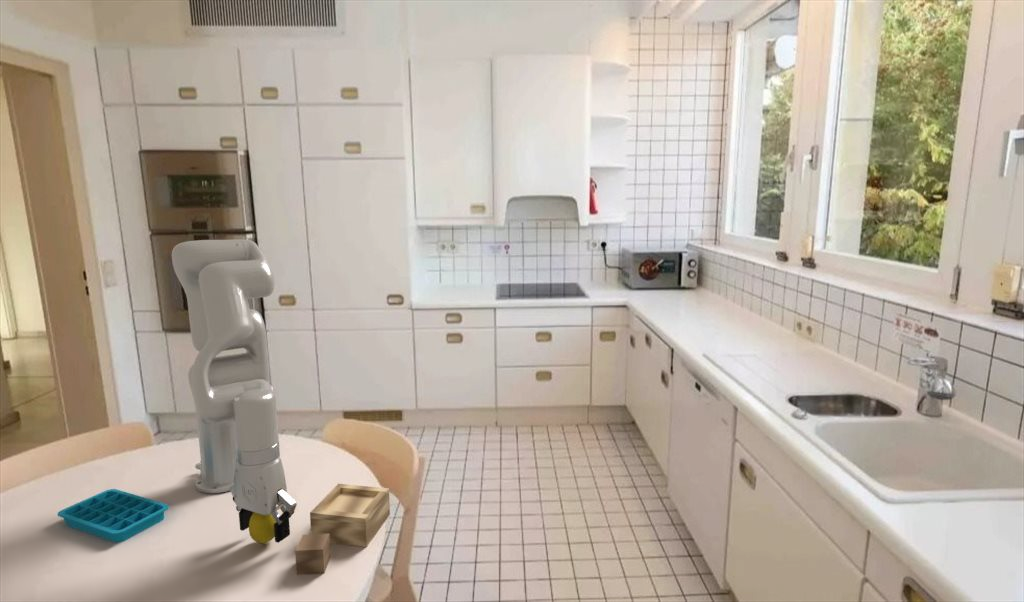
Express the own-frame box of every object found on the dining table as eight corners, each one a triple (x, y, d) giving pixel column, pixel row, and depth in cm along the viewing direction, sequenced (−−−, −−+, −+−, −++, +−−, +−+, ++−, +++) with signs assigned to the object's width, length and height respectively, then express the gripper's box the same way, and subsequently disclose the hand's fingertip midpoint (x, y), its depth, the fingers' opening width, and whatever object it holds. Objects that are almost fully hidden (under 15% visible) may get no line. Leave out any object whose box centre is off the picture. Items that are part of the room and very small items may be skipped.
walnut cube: (296, 575, 100) (295, 550, 99) (304, 558, 105) (302, 534, 104) (324, 573, 100) (322, 549, 100) (330, 556, 105) (329, 533, 105)
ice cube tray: (113, 499, 126) (111, 487, 125) (173, 518, 119) (172, 505, 118) (56, 526, 115) (54, 513, 115) (118, 548, 108) (116, 534, 107)
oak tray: (311, 540, 110) (309, 512, 109) (339, 509, 122) (338, 483, 121) (366, 546, 108) (365, 518, 107) (389, 514, 120) (389, 488, 119)
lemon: (268, 553, 106) (266, 516, 105) (244, 549, 107) (241, 512, 106) (285, 537, 111) (283, 501, 110) (262, 533, 113) (259, 498, 111)
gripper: (211, 452, 106) (218, 532, 109) (275, 469, 99) (281, 554, 102) (244, 438, 113) (250, 513, 116) (306, 453, 106) (311, 533, 109)
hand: (264, 532), depth 109 cm, fingers open, 9 cm apart
